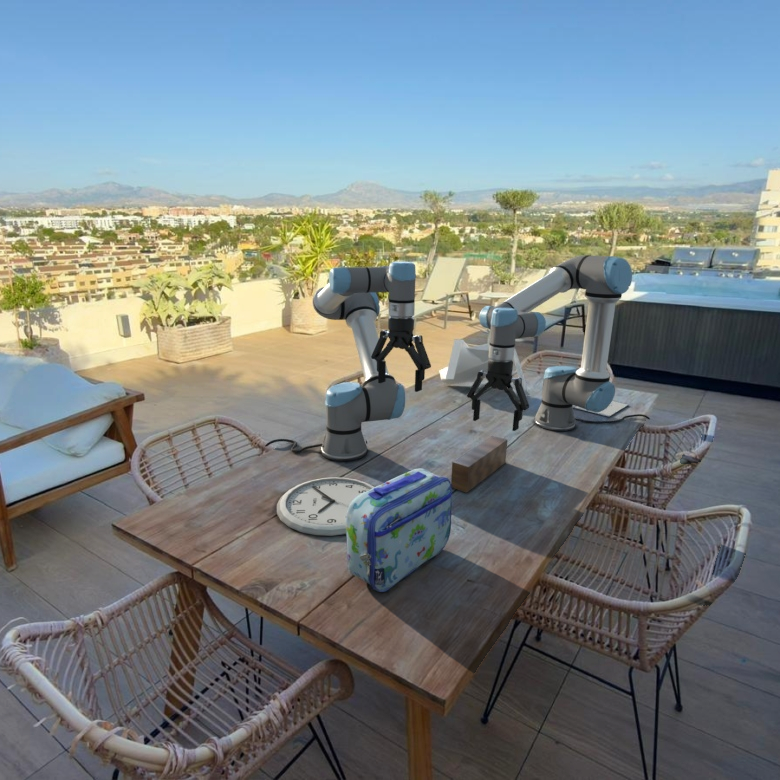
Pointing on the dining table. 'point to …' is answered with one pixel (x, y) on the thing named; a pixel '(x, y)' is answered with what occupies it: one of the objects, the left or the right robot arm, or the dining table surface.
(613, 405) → the invitation card
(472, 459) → the bar
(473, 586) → the dining table surface
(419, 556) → the lunch box
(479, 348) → the white plastic object
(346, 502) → the wall clock
